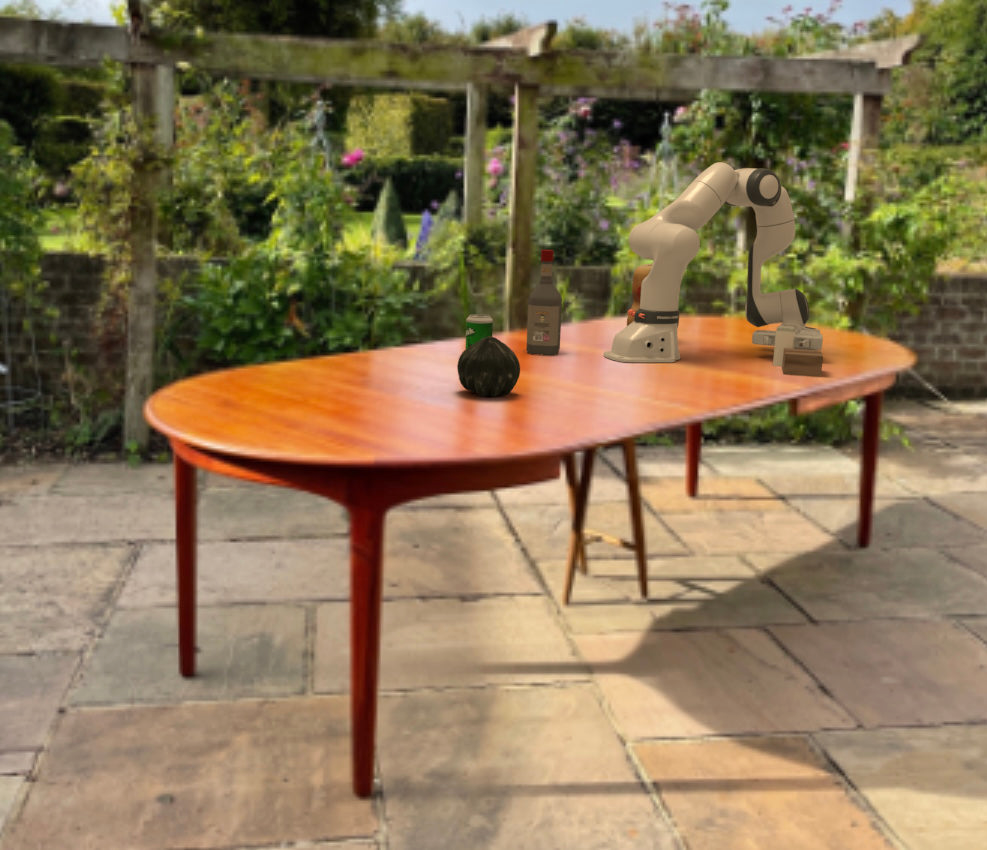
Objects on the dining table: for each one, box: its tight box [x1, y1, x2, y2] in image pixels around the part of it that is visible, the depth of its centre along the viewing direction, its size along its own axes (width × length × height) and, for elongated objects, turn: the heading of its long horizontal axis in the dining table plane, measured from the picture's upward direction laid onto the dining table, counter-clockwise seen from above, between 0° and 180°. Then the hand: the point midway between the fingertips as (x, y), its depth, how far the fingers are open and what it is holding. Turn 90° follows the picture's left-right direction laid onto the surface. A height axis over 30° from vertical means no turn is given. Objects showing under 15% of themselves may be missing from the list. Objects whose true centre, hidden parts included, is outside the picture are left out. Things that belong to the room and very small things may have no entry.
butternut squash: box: [626, 262, 653, 327], centre depth 346 cm, size 14×13×25 cm
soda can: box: [465, 313, 494, 350], centre depth 309 cm, size 8×8×12 cm
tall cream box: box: [772, 325, 796, 367], centre depth 314 cm, size 5×5×11 cm
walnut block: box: [781, 348, 824, 378], centre depth 303 cm, size 10×10×6 cm
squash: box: [457, 336, 521, 398], centre depth 260 cm, size 14×15×15 cm
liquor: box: [525, 249, 563, 356], centre depth 319 cm, size 9×9×30 cm
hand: (785, 343), depth 317 cm, fingers open, 8 cm apart
